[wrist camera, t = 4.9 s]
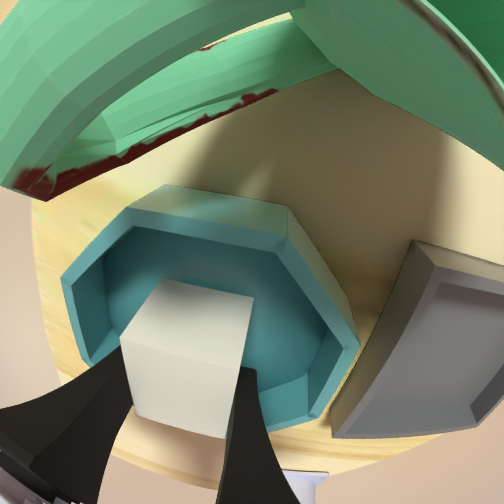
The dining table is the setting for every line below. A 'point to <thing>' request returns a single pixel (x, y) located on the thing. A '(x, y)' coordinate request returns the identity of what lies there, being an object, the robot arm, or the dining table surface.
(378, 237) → the dining table surface
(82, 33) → the mug
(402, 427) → the parts tray
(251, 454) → the robot arm
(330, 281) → the bowl
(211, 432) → the off-white smooth cube
